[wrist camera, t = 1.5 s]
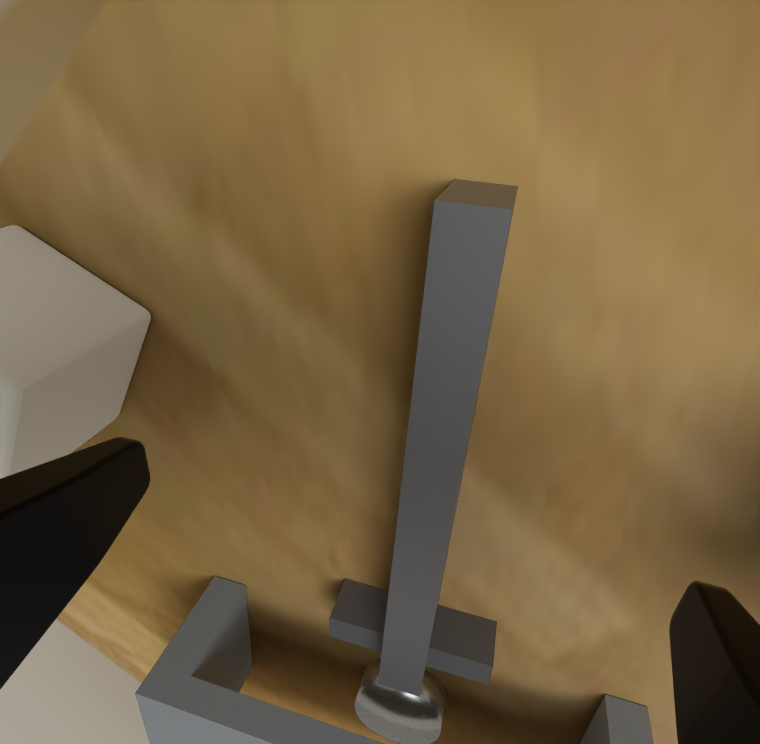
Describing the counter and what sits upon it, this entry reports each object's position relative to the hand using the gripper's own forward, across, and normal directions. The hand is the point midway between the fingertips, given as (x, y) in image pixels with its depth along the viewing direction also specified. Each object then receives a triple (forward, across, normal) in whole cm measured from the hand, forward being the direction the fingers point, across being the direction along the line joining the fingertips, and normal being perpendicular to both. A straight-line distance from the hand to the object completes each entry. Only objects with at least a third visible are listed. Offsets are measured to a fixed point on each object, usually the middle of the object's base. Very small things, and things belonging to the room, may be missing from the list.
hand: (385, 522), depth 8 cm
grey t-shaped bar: (+12, 0, +7) cm, 14 cm away
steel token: (+12, 0, +25) cm, 28 cm away
